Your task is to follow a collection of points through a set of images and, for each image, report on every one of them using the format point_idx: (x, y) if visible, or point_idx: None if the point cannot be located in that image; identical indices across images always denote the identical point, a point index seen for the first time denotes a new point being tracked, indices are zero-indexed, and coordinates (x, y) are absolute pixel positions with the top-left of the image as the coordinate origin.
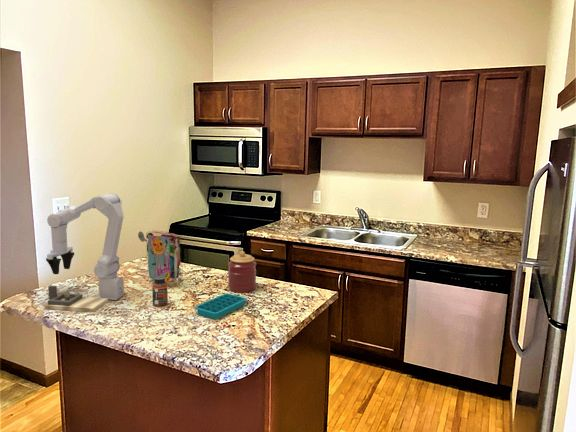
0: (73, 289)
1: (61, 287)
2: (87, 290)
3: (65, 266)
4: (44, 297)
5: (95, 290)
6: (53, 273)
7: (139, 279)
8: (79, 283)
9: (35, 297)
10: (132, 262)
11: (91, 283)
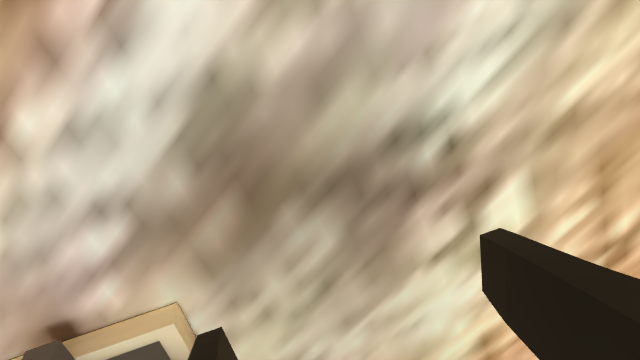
0: (381, 189)
1: (391, 51)
2: (395, 284)
3: (509, 278)
4: (116, 153)
5: (410, 321)
6: (195, 349)
7: None
8: (518, 106)
9: (56, 73)
10: None
11: (531, 187)
